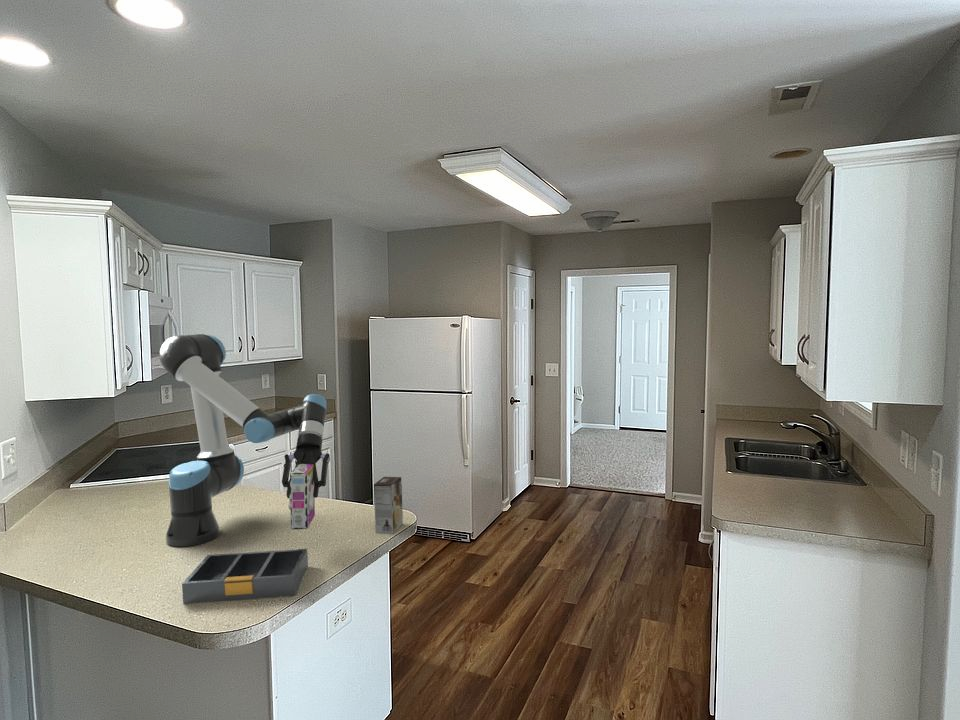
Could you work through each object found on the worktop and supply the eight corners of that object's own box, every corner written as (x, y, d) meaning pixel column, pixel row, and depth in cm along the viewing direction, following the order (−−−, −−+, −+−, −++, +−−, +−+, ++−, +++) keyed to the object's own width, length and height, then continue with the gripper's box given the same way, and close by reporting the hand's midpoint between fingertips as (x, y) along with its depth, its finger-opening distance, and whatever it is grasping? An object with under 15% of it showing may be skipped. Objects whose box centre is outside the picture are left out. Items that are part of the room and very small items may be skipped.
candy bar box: (308, 529, 160) (306, 473, 159) (290, 530, 160) (288, 473, 159) (316, 515, 172) (314, 462, 170) (299, 516, 171) (297, 463, 170)
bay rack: (182, 604, 137) (181, 583, 137) (208, 572, 154) (207, 553, 154) (294, 596, 140) (293, 575, 140) (308, 566, 157) (307, 547, 157)
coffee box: (385, 522, 190) (383, 475, 189) (403, 523, 189) (402, 476, 188) (374, 532, 181) (373, 483, 180) (393, 534, 180) (392, 484, 179)
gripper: (340, 444, 180) (334, 512, 165) (282, 445, 178) (270, 514, 163) (338, 431, 175) (331, 500, 160) (278, 432, 173) (265, 502, 158)
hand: (300, 507), depth 162 cm, fingers closed on candy bar box, 5 cm apart
